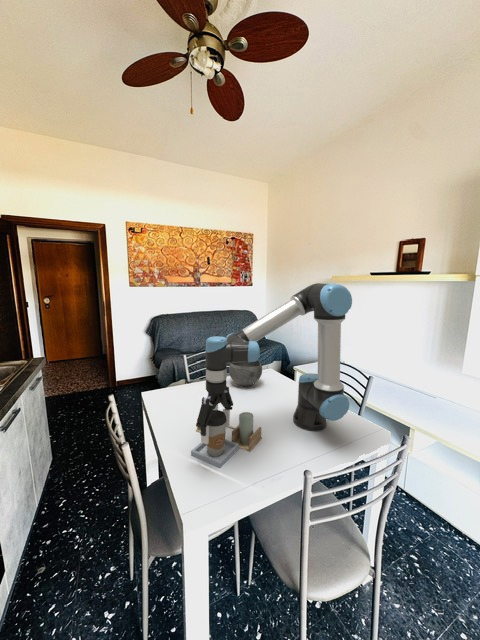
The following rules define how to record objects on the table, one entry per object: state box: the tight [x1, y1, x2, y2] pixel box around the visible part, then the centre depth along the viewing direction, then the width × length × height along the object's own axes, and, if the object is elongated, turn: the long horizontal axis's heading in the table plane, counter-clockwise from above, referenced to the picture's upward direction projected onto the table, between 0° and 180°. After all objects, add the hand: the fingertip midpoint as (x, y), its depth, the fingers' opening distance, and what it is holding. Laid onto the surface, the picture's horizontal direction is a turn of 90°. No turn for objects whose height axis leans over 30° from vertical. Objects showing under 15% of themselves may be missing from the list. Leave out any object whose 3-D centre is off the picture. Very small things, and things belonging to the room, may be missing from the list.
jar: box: [238, 411, 254, 445], centre depth 106 cm, size 6×6×11 cm
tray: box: [190, 438, 240, 469], centre depth 100 cm, size 13×13×2 cm
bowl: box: [228, 359, 263, 387], centre depth 167 cm, size 21×21×15 cm
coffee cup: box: [206, 409, 227, 458], centre depth 99 cm, size 8×8×15 cm
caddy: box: [195, 418, 263, 453], centre depth 111 cm, size 26×11×6 cm, turn 60°
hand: (216, 433), depth 99 cm, fingers open, 13 cm apart
